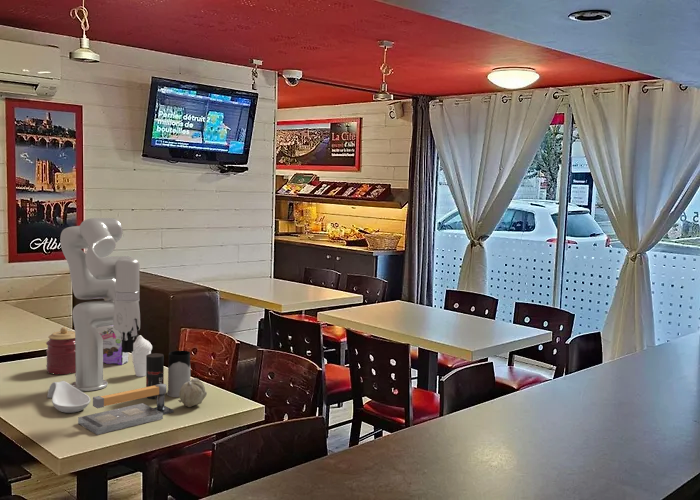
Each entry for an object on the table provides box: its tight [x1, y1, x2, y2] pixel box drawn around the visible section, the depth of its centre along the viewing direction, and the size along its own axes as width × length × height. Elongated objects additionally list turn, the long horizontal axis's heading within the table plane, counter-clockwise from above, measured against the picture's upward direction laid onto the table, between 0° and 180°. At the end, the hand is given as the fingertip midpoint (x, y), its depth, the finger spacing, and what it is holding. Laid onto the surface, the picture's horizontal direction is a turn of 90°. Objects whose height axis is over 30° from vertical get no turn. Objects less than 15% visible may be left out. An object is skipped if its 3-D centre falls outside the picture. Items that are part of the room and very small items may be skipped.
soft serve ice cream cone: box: [131, 334, 153, 378], centre depth 268 cm, size 8×8×16 cm
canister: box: [45, 326, 76, 375], centre depth 271 cm, size 13×13×18 cm
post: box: [153, 394, 174, 415], centre depth 226 cm, size 6×6×6 cm
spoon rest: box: [46, 380, 91, 414], centre depth 230 cm, size 24×12×7 cm, turn 42°
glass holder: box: [166, 350, 191, 398], centre depth 249 cm, size 9×14×15 cm, turn 12°
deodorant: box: [145, 352, 165, 400], centre depth 242 cm, size 6×6×15 cm
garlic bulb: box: [177, 377, 208, 408], centre depth 232 cm, size 9×8×10 cm
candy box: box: [96, 325, 129, 366], centre depth 286 cm, size 14×6×16 cm, turn 80°
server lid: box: [77, 402, 164, 436], centre depth 216 cm, size 13×22×2 cm, turn 136°
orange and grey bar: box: [92, 383, 167, 409], centre depth 218 cm, size 4×24×3 cm, turn 136°
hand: (127, 351), depth 224 cm, fingers closed
